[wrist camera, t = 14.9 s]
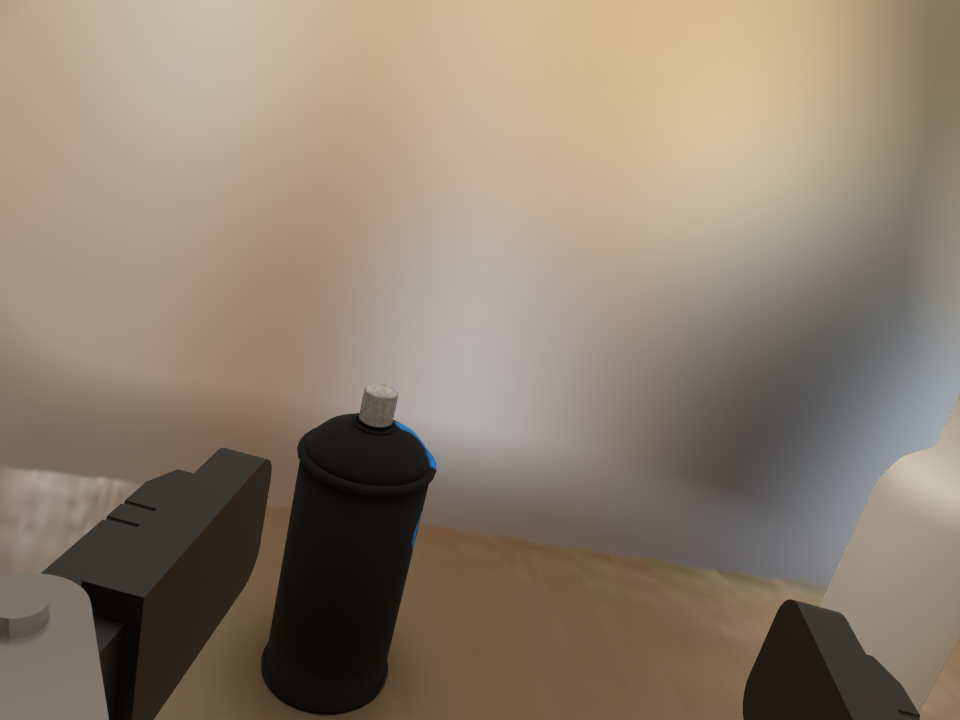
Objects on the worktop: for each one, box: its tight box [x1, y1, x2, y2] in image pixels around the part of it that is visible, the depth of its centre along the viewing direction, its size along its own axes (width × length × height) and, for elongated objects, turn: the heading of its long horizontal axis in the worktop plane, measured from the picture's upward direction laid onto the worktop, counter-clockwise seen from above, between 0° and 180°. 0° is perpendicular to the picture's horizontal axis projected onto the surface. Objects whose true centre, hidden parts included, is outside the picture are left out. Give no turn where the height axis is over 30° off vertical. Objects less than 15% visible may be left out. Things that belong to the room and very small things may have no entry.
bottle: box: [819, 395, 960, 713], centre depth 49 cm, size 8×8×30 cm
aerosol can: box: [262, 383, 436, 713], centre depth 46 cm, size 8×8×20 cm
